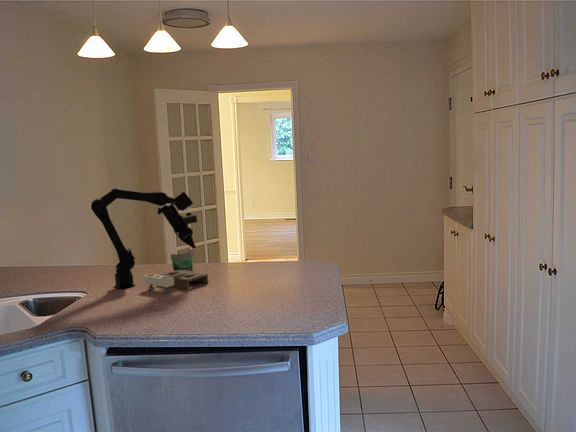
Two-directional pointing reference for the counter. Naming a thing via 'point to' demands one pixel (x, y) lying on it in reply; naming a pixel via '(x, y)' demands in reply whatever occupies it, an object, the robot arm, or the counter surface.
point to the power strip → (159, 281)
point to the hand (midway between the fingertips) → (193, 246)
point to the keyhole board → (186, 277)
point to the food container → (183, 261)
